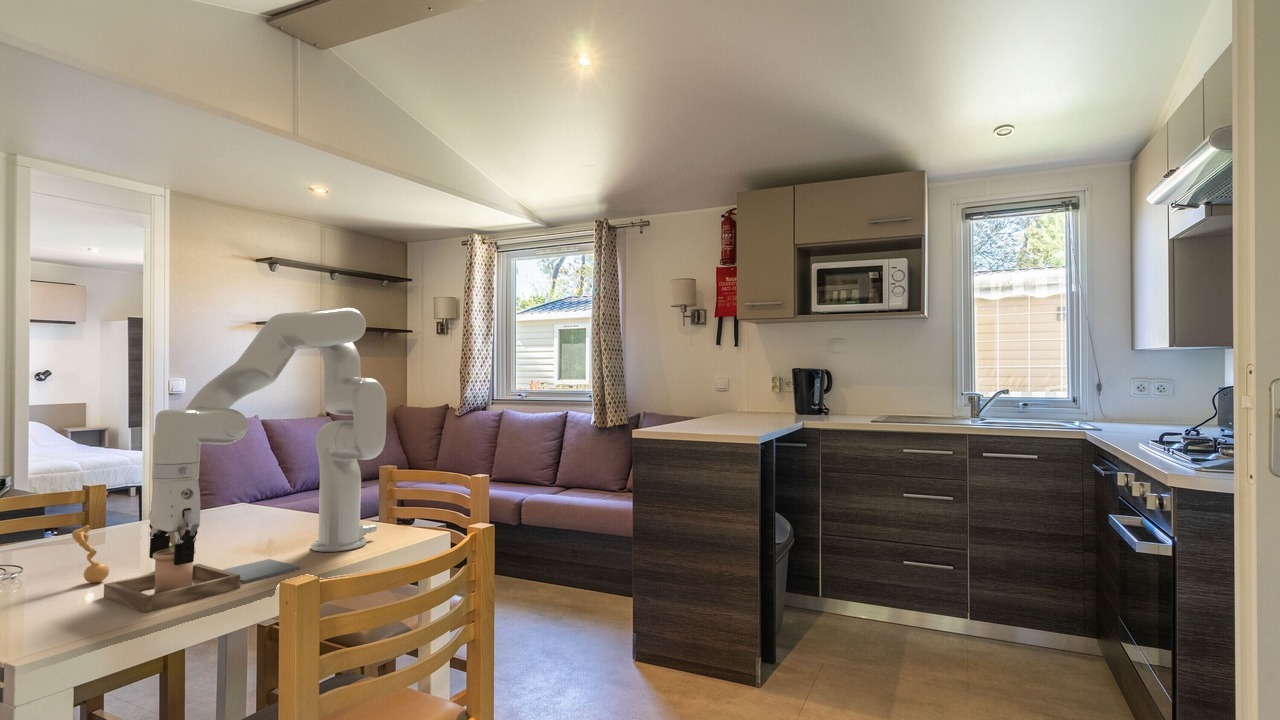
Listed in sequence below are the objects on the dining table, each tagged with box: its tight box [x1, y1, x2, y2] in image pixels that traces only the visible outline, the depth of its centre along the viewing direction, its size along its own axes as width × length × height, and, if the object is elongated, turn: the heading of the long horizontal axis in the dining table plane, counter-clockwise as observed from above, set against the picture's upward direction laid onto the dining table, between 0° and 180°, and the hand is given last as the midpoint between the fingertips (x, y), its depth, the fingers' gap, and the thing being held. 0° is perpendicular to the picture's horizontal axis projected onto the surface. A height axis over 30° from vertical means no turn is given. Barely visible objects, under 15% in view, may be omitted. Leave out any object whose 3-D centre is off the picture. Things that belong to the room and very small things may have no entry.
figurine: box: [71, 524, 110, 584], centre depth 130 cm, size 8×6×12 cm
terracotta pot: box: [152, 547, 197, 594], centre depth 125 cm, size 7×7×8 cm
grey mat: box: [222, 558, 301, 584], centre depth 139 cm, size 12×12×1 cm
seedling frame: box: [103, 563, 241, 613], centre depth 125 cm, size 16×16×2 cm
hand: (171, 560), depth 124 cm, fingers open, 9 cm apart
